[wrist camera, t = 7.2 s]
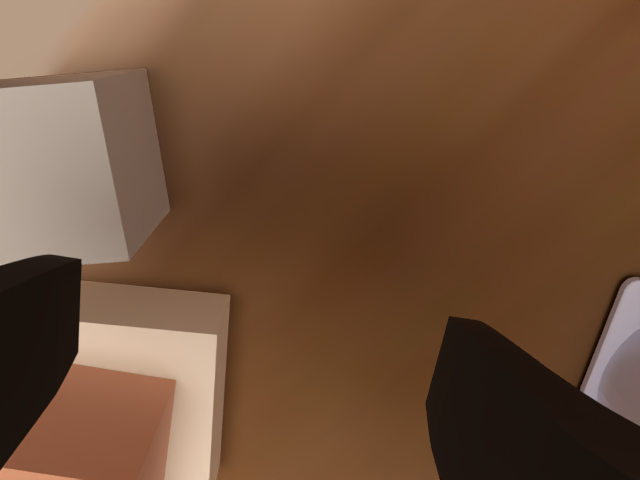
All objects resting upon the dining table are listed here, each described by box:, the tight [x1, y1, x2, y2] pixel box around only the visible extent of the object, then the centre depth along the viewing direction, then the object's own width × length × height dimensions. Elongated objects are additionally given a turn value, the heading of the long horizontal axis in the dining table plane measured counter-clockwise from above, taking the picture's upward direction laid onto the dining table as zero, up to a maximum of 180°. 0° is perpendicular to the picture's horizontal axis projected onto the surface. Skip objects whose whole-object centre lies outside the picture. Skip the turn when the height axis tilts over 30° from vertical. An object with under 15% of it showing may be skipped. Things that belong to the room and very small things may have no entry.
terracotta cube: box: [0, 364, 176, 480], centre depth 19 cm, size 5×5×5 cm
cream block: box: [73, 280, 230, 480], centre depth 23 cm, size 8×8×4 cm
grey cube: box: [0, 68, 170, 266], centre depth 19 cm, size 5×5×5 cm
